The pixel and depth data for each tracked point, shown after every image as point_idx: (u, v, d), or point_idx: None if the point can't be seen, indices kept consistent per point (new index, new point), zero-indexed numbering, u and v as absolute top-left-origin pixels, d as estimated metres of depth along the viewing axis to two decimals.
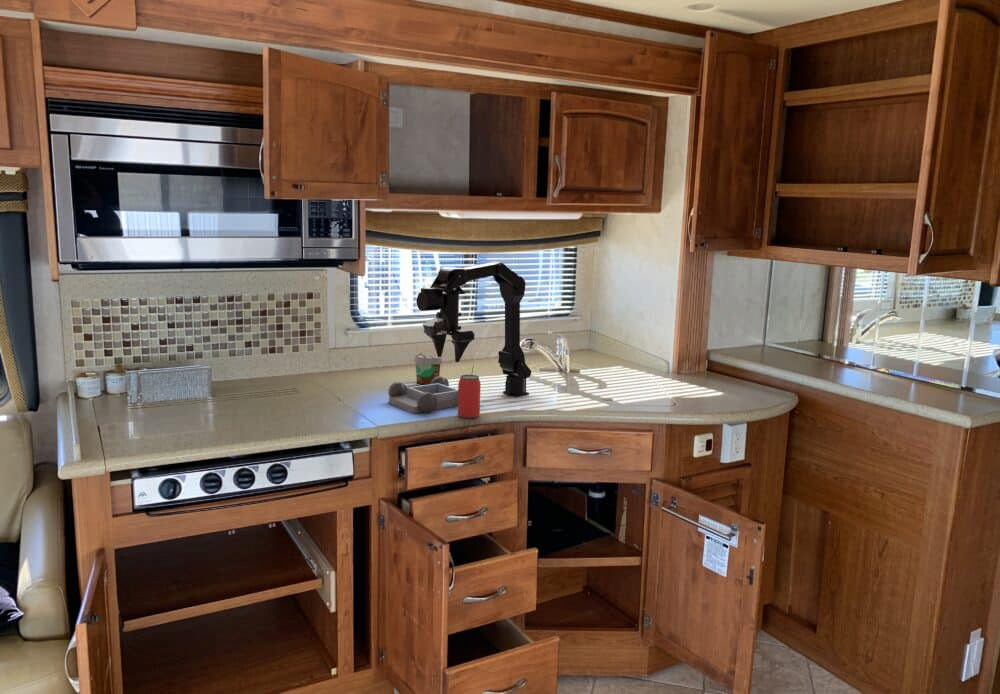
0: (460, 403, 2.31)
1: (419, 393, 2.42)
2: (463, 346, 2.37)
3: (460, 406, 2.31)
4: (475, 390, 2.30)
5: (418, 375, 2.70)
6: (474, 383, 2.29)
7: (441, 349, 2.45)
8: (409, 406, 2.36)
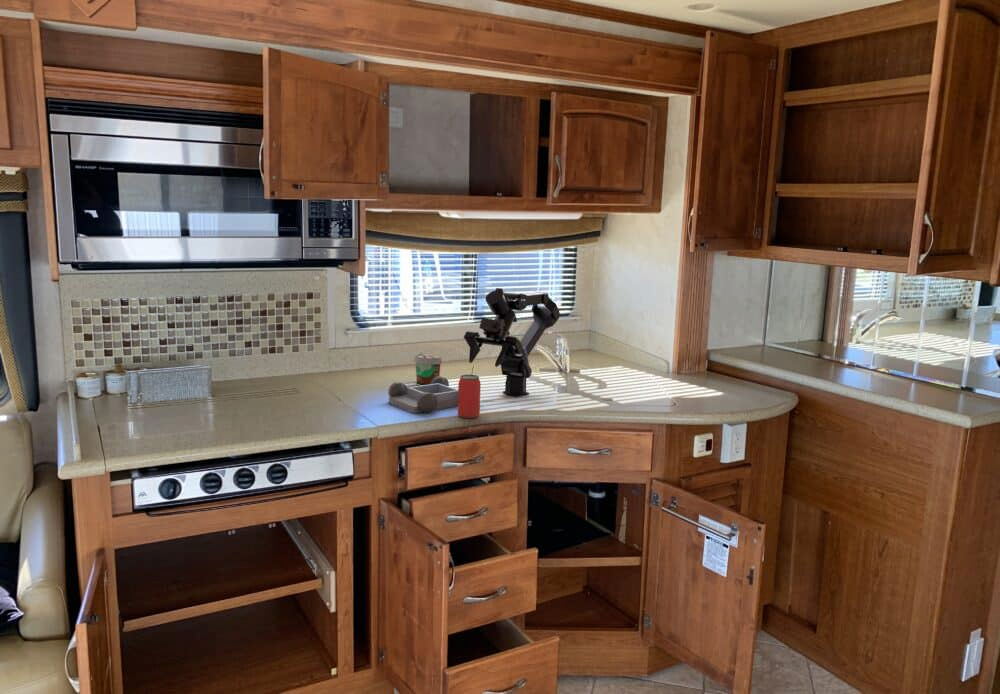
0: (460, 403, 2.31)
1: (419, 393, 2.42)
2: (507, 355, 2.42)
3: (460, 406, 2.31)
4: (475, 390, 2.30)
5: (418, 375, 2.70)
6: (474, 383, 2.29)
7: (473, 357, 2.45)
8: (409, 406, 2.36)
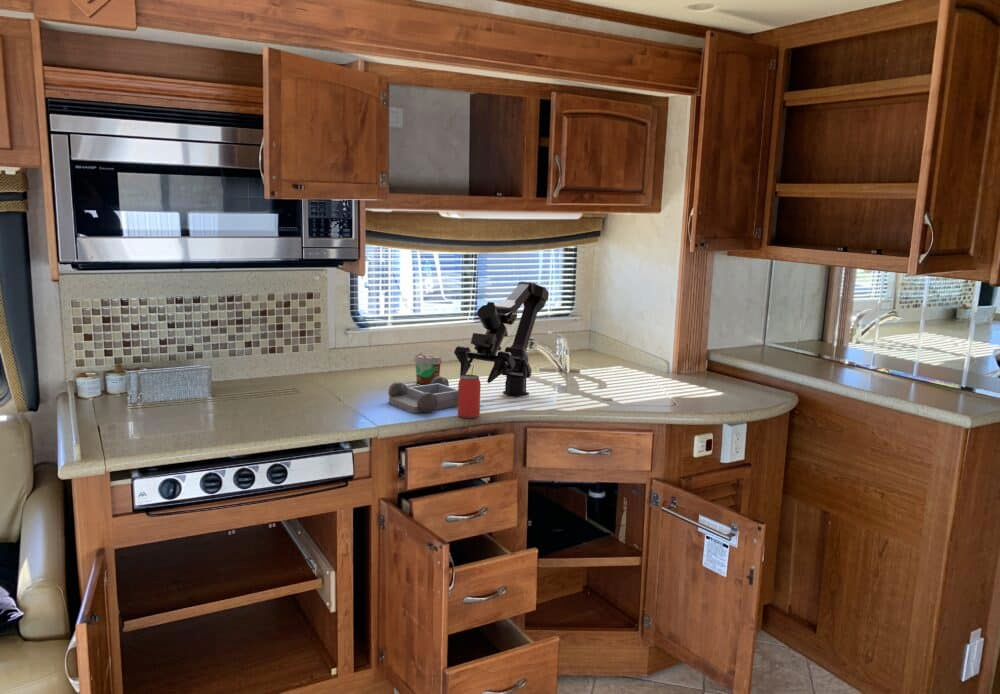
0: (460, 403, 2.31)
1: (419, 393, 2.42)
2: (499, 371, 2.35)
3: (460, 406, 2.31)
4: (475, 390, 2.30)
5: (418, 375, 2.70)
6: (474, 383, 2.29)
7: (464, 373, 2.38)
8: (409, 406, 2.36)
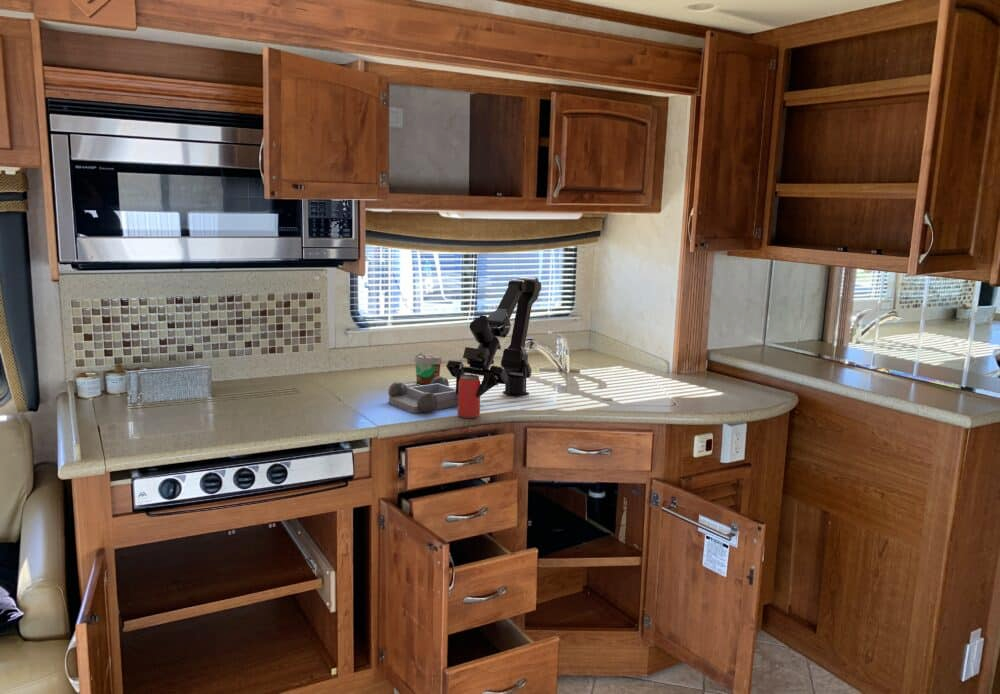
0: (460, 403, 2.31)
1: (419, 393, 2.42)
2: (488, 385, 2.32)
3: (460, 406, 2.31)
4: (475, 390, 2.30)
5: (418, 375, 2.70)
6: (474, 383, 2.29)
7: None
8: (409, 406, 2.36)
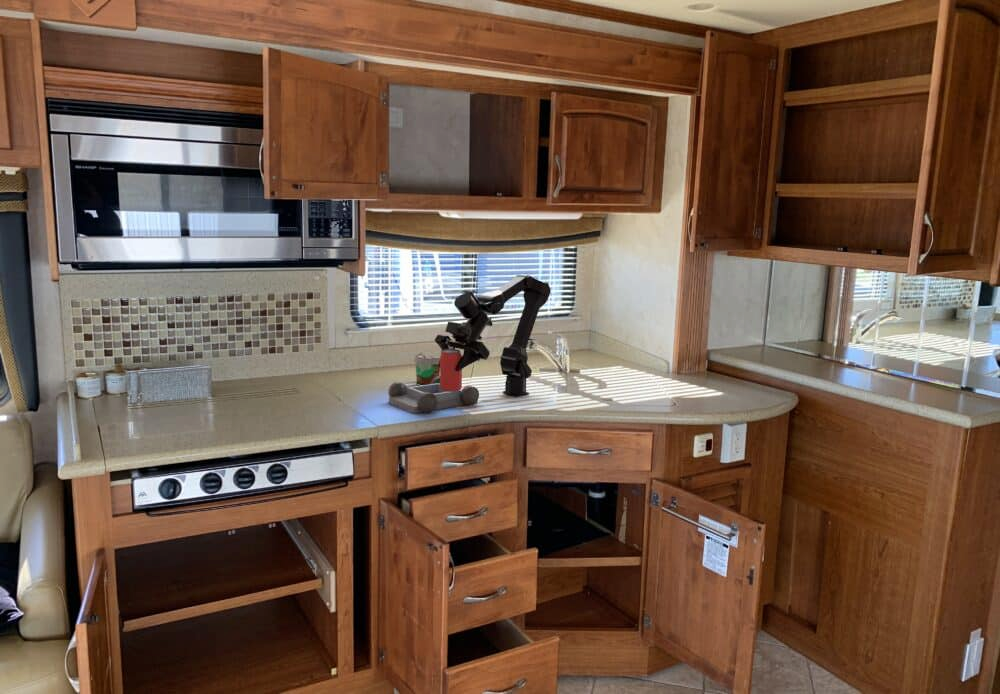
0: (440, 376, 2.36)
1: (419, 393, 2.42)
2: (469, 360, 2.35)
3: (440, 379, 2.36)
4: (454, 364, 2.33)
5: (418, 375, 2.70)
6: (453, 357, 2.33)
7: None
8: (409, 406, 2.36)
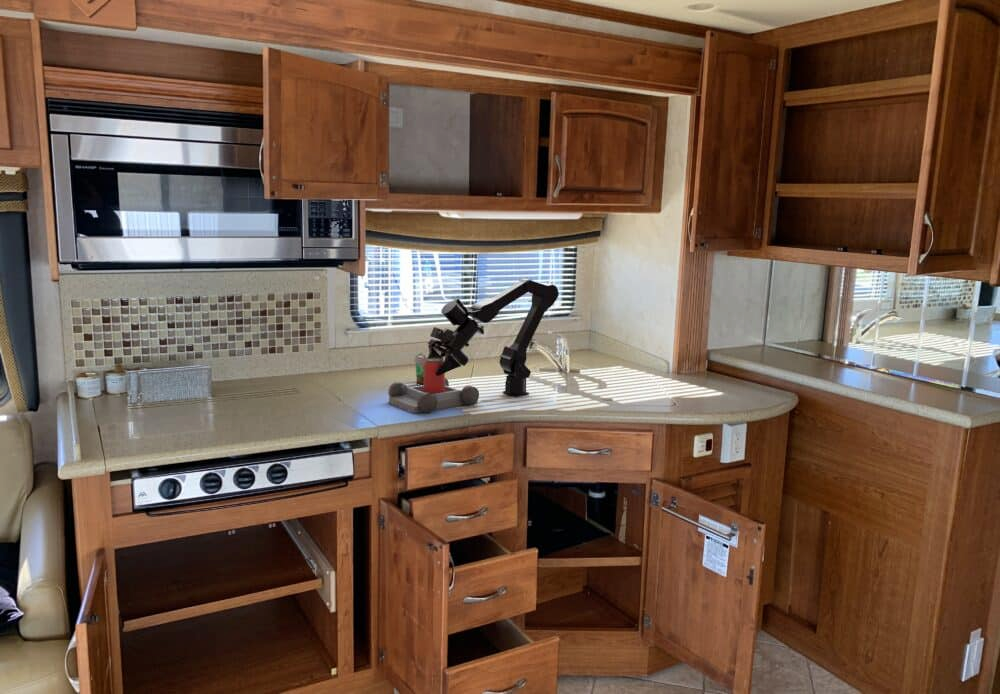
0: None
1: (419, 393, 2.42)
2: (451, 366, 2.41)
3: None
4: (433, 372, 2.42)
5: (418, 375, 2.70)
6: (433, 365, 2.42)
7: None
8: (409, 406, 2.36)
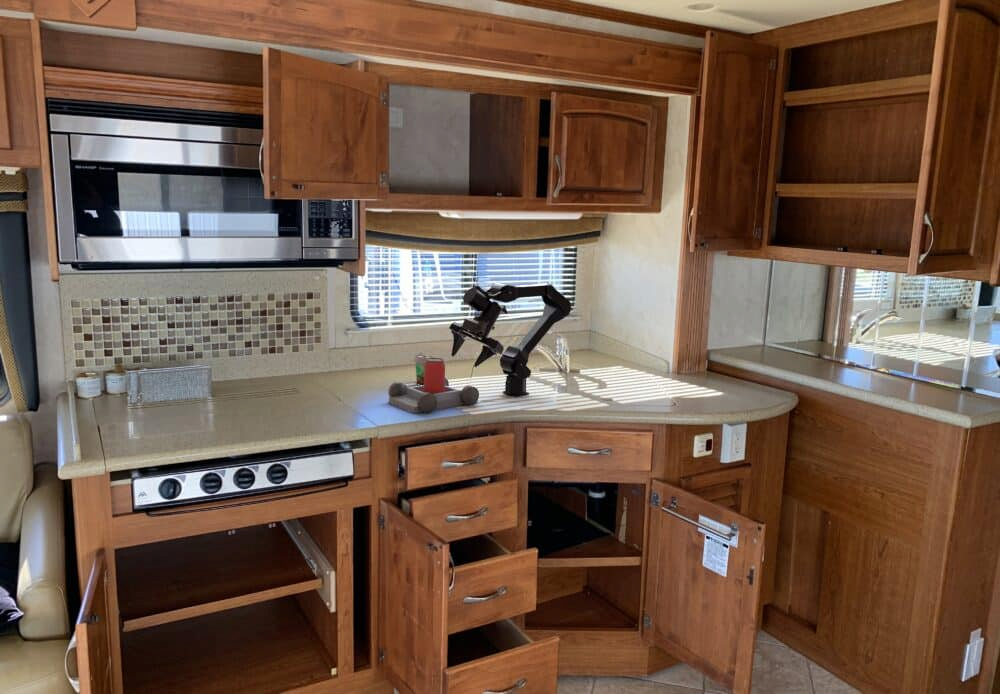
0: (424, 383, 2.46)
1: (419, 393, 2.42)
2: (487, 355, 2.47)
3: (424, 386, 2.46)
4: (434, 372, 2.42)
5: (418, 375, 2.70)
6: (433, 365, 2.42)
7: (456, 350, 2.51)
8: (409, 406, 2.36)
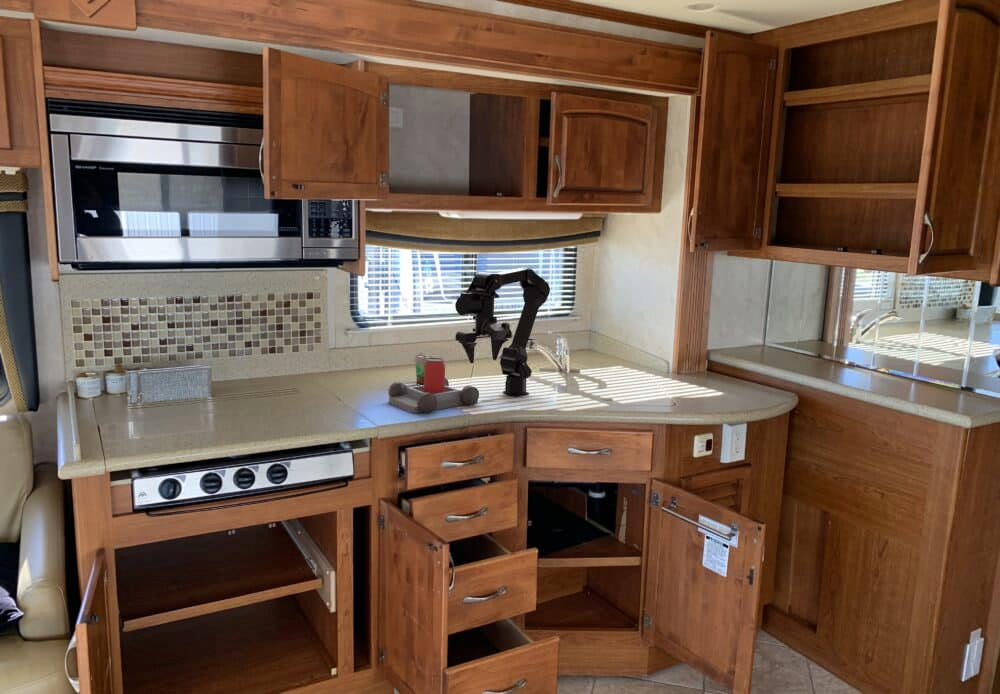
0: (424, 383, 2.46)
1: (419, 393, 2.42)
2: None
3: (424, 386, 2.46)
4: (434, 372, 2.42)
5: (418, 375, 2.70)
6: (433, 365, 2.42)
7: None
8: (409, 406, 2.36)
